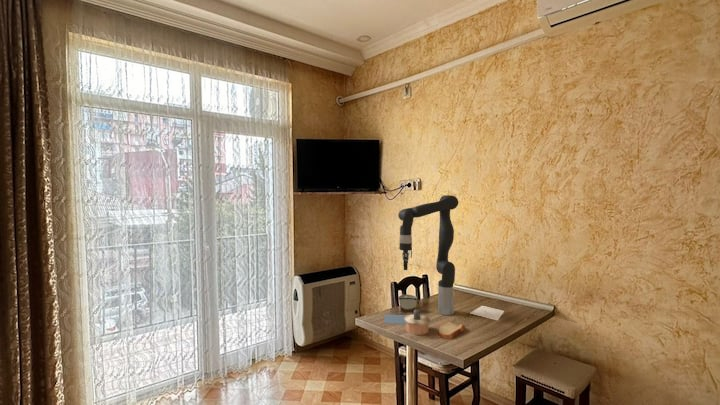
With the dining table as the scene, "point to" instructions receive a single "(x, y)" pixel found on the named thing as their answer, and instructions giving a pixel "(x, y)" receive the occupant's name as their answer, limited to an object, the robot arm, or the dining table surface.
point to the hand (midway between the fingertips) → (405, 268)
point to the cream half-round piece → (407, 303)
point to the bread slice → (450, 330)
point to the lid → (417, 318)
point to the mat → (394, 319)
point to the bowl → (417, 329)
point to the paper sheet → (488, 312)
